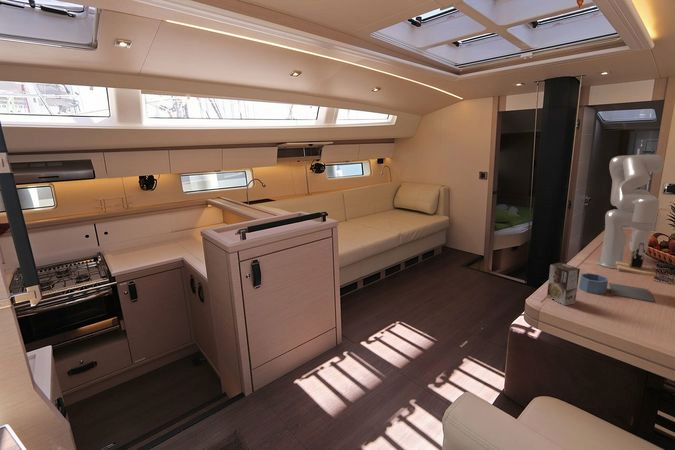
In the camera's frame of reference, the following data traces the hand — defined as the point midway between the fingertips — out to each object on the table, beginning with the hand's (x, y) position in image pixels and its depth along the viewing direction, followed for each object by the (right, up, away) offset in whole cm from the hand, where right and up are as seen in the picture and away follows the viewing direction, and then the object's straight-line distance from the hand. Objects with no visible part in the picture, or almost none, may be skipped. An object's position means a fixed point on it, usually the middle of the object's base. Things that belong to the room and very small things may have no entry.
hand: (635, 264), depth 146 cm
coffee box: (-34, -16, -1) cm, 38 cm away
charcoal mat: (+1, -13, +3) cm, 14 cm away
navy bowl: (-13, -13, +8) cm, 20 cm away
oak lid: (0, -2, +1) cm, 2 cm away
